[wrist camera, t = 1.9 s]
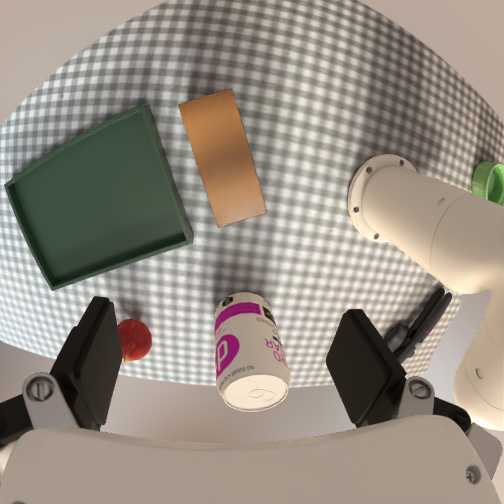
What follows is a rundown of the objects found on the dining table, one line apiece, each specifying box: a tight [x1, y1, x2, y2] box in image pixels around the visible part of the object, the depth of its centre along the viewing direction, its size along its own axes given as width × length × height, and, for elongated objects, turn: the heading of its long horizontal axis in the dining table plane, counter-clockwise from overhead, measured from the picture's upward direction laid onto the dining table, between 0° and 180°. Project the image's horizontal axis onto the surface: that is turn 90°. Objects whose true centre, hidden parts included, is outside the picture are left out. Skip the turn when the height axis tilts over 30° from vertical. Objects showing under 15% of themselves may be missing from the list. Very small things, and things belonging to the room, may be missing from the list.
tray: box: [4, 104, 194, 291], centre depth 30 cm, size 23×17×2 cm
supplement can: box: [214, 292, 291, 412], centre depth 34 cm, size 8×8×15 cm
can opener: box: [384, 288, 452, 364], centre depth 44 cm, size 18×7×6 cm, turn 139°
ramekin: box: [472, 161, 504, 206], centre depth 34 cm, size 9×9×4 cm
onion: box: [117, 319, 152, 363], centre depth 36 cm, size 6×6×8 cm
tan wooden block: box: [178, 89, 267, 228], centre depth 28 cm, size 13×5×6 cm, turn 15°
